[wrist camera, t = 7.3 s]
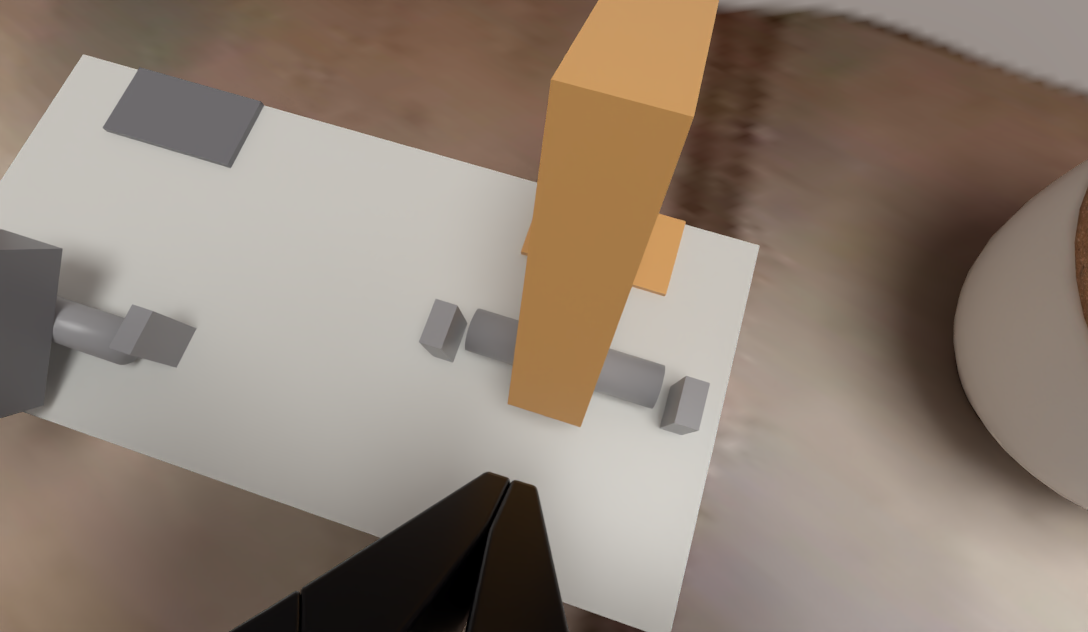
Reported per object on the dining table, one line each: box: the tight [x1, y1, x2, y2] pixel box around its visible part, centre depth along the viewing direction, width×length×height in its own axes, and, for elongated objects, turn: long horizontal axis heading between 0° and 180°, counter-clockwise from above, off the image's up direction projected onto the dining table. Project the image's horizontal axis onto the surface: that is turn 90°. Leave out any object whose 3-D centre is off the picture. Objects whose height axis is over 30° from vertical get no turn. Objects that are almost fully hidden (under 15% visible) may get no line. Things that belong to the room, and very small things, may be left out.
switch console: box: [0, 55, 759, 632], centre depth 16 cm, size 11×23×4 cm, turn 72°
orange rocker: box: [465, 0, 719, 427], centre depth 12 cm, size 4×5×9 cm
